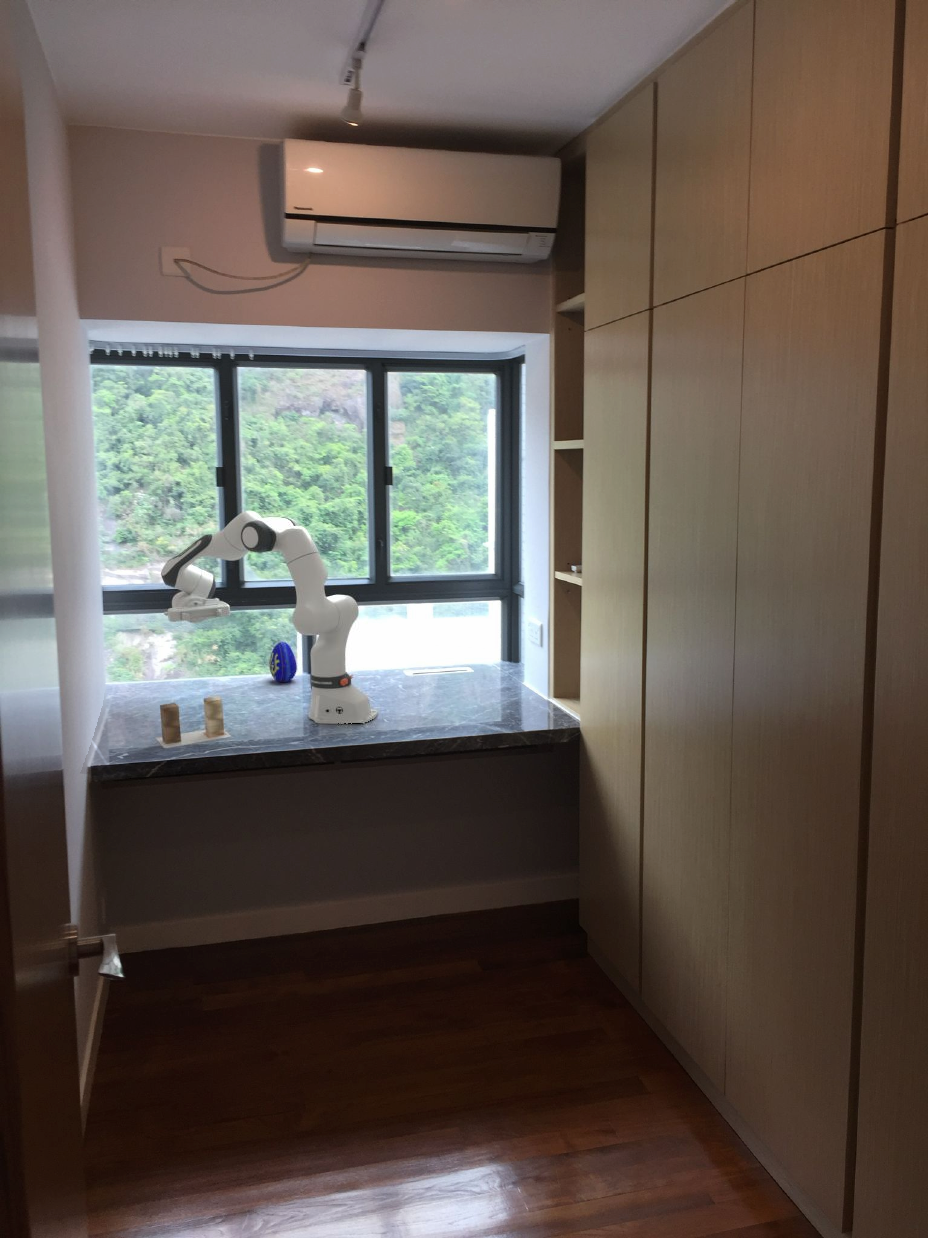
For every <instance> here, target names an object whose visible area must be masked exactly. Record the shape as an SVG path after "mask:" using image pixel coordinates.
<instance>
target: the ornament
mask: <svg viewBox="0 0 928 1238" xmlns="http://www.w3.org/2000/svg"><path fill="white" fill-rule="evenodd" d="M268 663H269V664H268V667H269V672H270V674H271V676H272V677H273V678H274V680H275V681H277V682H279V683H287V682H290V681H292V680H293V679H294V677H295V676H296V674H297V669H298V668H297V660H296V656H295V655H294V652H293V650H292V648H291V646H290V645H289V644H288V643H287V642H286V641H281V642H278V643H276V645H274V647H273V649H272V651H271V654H270V658H269V662H268Z"/></svg>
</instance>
